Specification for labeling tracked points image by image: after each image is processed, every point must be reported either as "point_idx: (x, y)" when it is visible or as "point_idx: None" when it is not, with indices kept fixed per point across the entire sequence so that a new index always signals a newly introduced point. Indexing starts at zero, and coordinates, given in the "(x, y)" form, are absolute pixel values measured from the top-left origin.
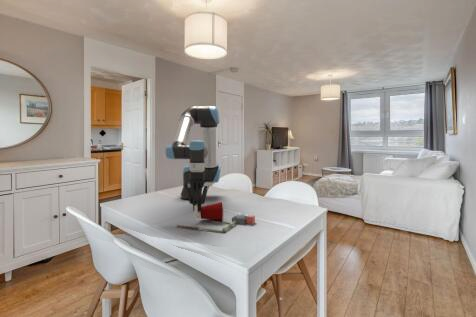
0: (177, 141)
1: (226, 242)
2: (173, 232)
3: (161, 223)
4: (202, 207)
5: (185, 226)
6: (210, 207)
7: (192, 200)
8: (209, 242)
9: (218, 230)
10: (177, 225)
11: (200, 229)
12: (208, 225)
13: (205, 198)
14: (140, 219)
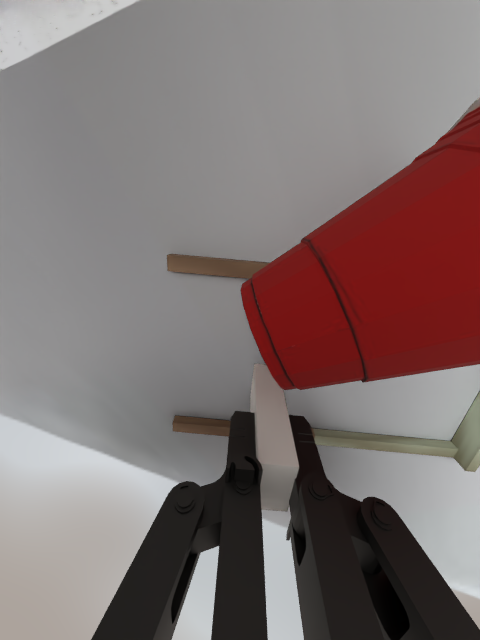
0: None
1: (467, 524)
2: (211, 480)
3: (42, 382)
4: (304, 377)
5: (228, 432)
6: (420, 371)
7: (176, 534)
8: None
9: (430, 452)
10: (175, 426)
11: (323, 441)
12: None
13: (476, 636)
14: None
